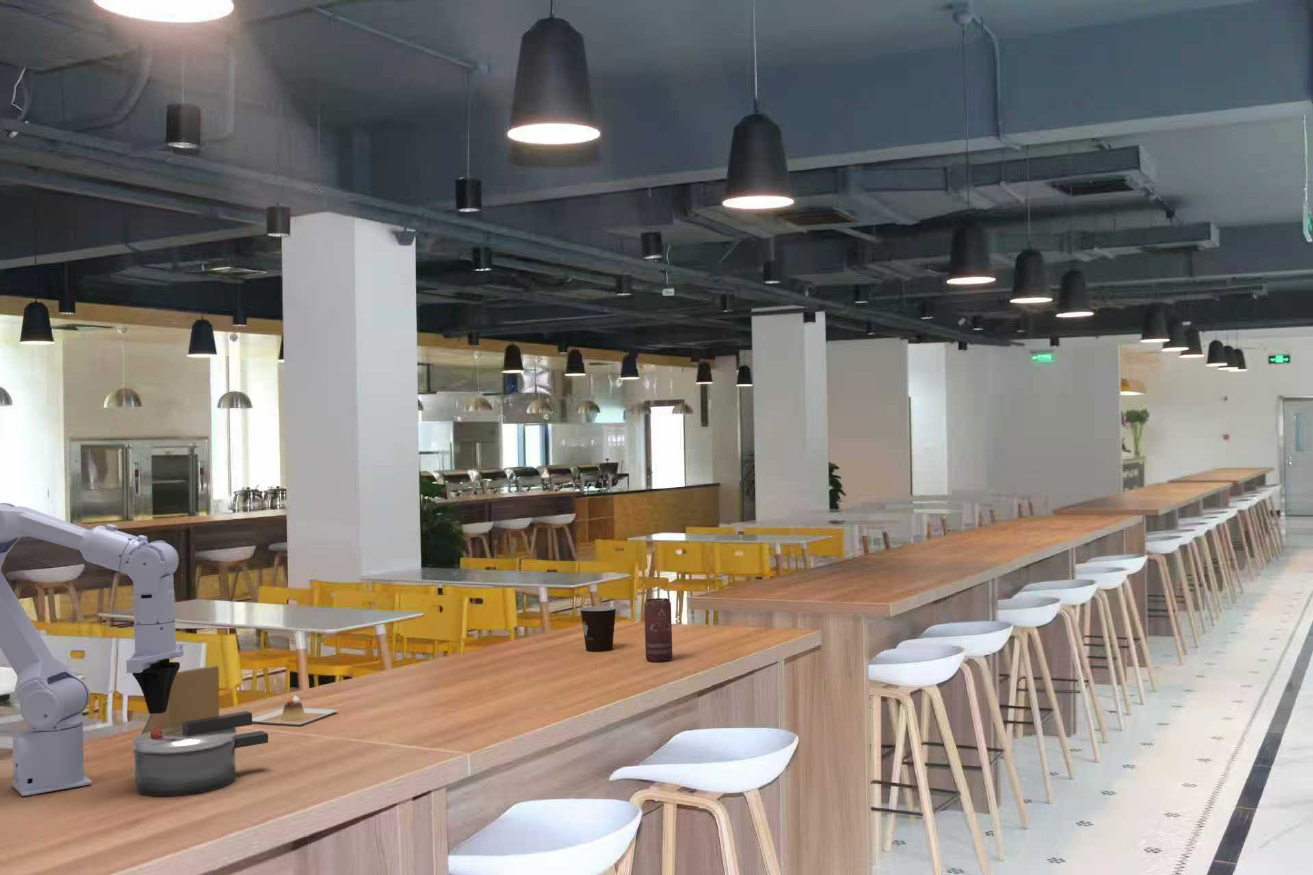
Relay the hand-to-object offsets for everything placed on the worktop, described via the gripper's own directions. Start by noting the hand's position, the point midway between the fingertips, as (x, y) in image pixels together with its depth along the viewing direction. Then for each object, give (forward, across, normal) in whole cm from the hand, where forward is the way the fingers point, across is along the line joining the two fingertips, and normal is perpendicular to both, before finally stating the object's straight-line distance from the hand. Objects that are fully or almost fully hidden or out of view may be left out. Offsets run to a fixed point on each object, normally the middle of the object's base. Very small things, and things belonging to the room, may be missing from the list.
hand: (157, 712), depth 182 cm
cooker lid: (+4, 0, -6) cm, 7 cm away
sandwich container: (+11, +18, +6) cm, 21 cm away
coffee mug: (+11, +116, -56) cm, 130 cm away
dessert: (+11, +44, -5) cm, 45 cm away
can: (+11, +98, -71) cm, 122 cm away
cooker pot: (+10, 0, -7) cm, 12 cm away
